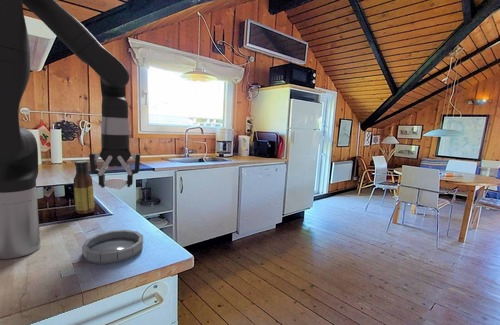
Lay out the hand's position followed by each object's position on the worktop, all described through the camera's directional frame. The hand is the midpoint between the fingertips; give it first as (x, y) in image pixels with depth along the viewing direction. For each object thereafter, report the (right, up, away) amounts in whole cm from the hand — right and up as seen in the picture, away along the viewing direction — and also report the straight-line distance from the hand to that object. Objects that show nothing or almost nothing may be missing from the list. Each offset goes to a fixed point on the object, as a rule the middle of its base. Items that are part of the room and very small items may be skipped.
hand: (116, 186), depth 80 cm
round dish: (+4, -17, -8) cm, 19 cm away
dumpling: (0, -1, 0) cm, 1 cm away
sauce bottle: (-22, -12, +20) cm, 32 cm away
